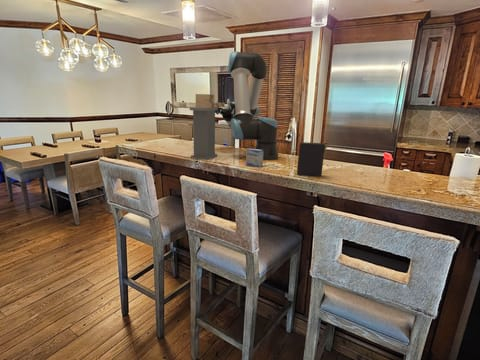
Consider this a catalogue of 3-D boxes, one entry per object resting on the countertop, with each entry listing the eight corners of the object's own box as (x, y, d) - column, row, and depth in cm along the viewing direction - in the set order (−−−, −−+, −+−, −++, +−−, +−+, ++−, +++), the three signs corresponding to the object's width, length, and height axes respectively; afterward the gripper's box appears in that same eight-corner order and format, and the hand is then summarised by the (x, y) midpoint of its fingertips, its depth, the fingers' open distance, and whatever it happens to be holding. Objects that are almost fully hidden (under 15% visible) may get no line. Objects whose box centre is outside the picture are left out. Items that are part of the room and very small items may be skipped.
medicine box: (245, 165, 148) (246, 149, 146) (249, 163, 152) (250, 147, 150) (259, 167, 145) (260, 150, 143) (262, 165, 149) (263, 149, 146)
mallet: (217, 106, 182) (217, 95, 180) (228, 107, 179) (228, 95, 177) (195, 107, 158) (195, 94, 156) (208, 107, 155) (208, 94, 153)
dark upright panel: (320, 174, 135) (323, 142, 131) (321, 176, 131) (325, 144, 127) (296, 173, 136) (299, 141, 132) (297, 175, 132) (300, 143, 128)
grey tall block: (202, 153, 175) (202, 106, 168) (218, 155, 171) (219, 107, 164) (189, 158, 161) (188, 107, 153) (206, 160, 157) (206, 108, 149)
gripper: (245, 123, 187) (235, 106, 168) (211, 120, 196) (198, 105, 176) (247, 112, 189) (238, 95, 169) (213, 111, 197) (200, 94, 178)
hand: (217, 100), depth 173 cm, fingers open, 13 cm apart
